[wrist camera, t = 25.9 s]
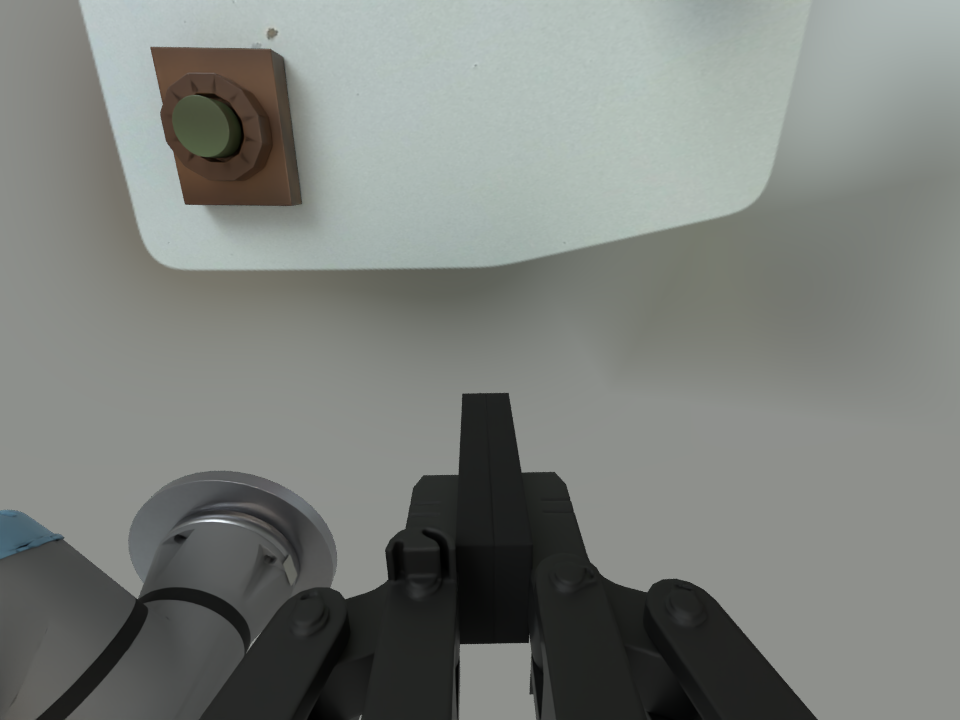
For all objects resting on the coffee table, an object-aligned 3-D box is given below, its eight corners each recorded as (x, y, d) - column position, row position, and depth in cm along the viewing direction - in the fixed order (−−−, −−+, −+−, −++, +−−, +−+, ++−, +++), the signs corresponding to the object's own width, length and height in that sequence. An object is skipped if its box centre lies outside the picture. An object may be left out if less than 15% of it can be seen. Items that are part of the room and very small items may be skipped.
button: (246, 158, 32) (234, 157, 30) (194, 157, 32) (179, 156, 30) (236, 99, 30) (223, 95, 29) (182, 98, 30) (165, 94, 29)
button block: (302, 204, 36) (282, 207, 33) (200, 203, 36) (169, 206, 33) (283, 56, 33) (258, 41, 29) (170, 54, 32) (130, 39, 29)
